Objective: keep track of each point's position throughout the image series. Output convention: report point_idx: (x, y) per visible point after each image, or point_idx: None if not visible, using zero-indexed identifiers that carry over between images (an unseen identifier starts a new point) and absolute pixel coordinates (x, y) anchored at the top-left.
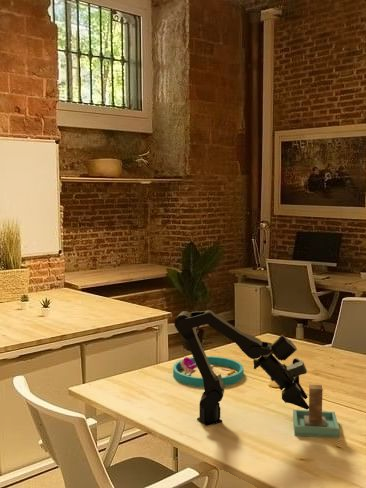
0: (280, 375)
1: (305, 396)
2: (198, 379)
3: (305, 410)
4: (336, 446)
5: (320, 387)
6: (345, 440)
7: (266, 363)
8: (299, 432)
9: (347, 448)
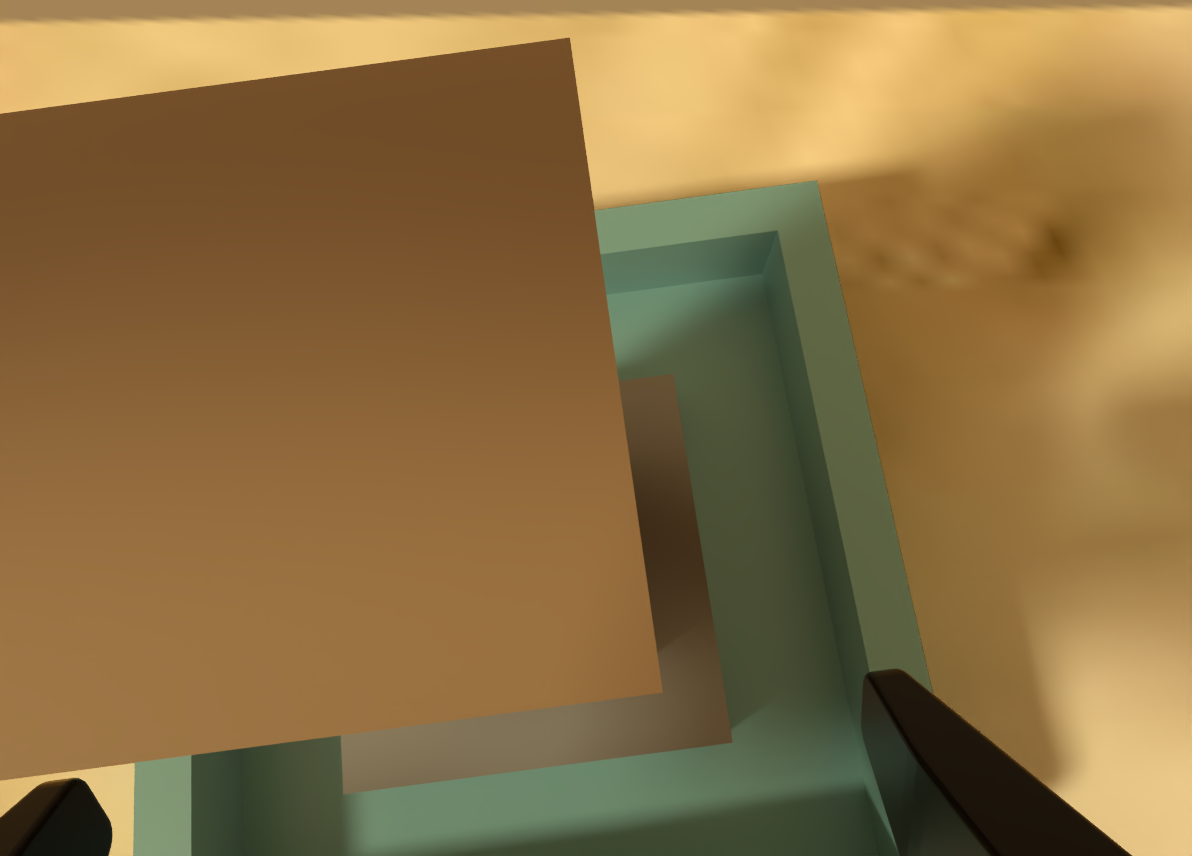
0: None
1: (65, 853)
2: None
3: (150, 780)
4: (1053, 271)
5: (304, 143)
6: (828, 176)
7: None
8: None
9: (1052, 148)
